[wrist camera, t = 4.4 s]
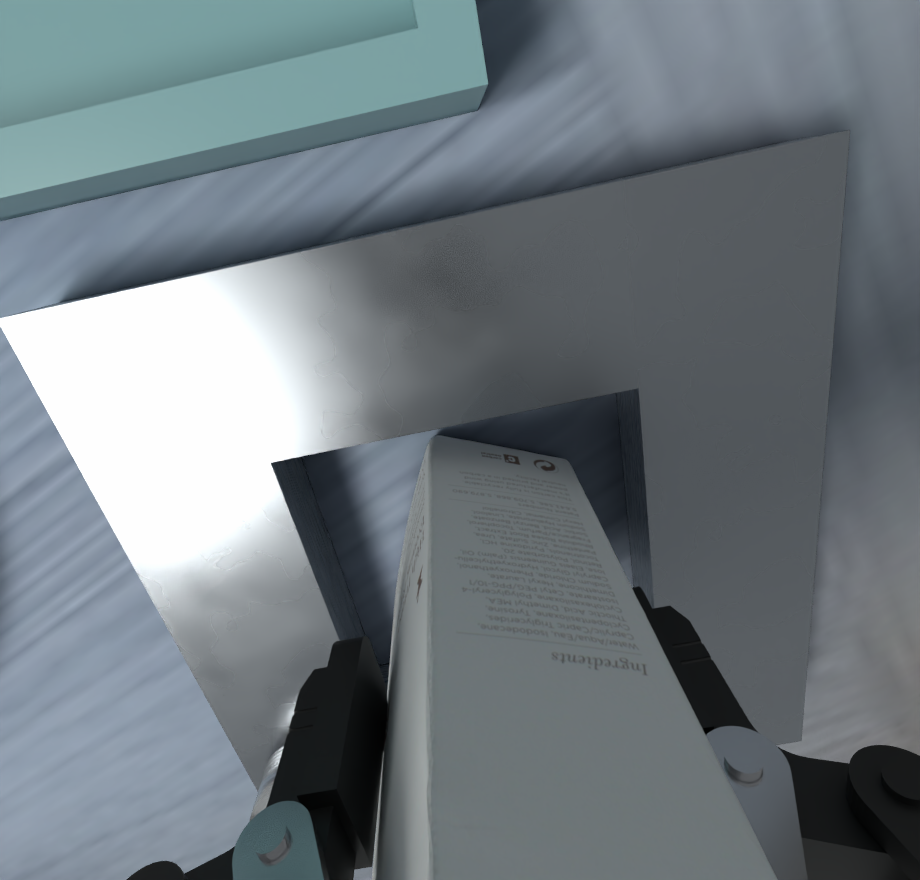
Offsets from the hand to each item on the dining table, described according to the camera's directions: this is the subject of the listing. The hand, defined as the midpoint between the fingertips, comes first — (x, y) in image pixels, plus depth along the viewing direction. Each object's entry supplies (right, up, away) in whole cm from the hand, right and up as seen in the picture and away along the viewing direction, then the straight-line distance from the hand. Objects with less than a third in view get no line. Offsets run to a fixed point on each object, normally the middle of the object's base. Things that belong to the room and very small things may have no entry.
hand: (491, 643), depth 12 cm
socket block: (0, +2, +4) cm, 4 cm away
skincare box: (0, +2, +4) cm, 5 cm away
